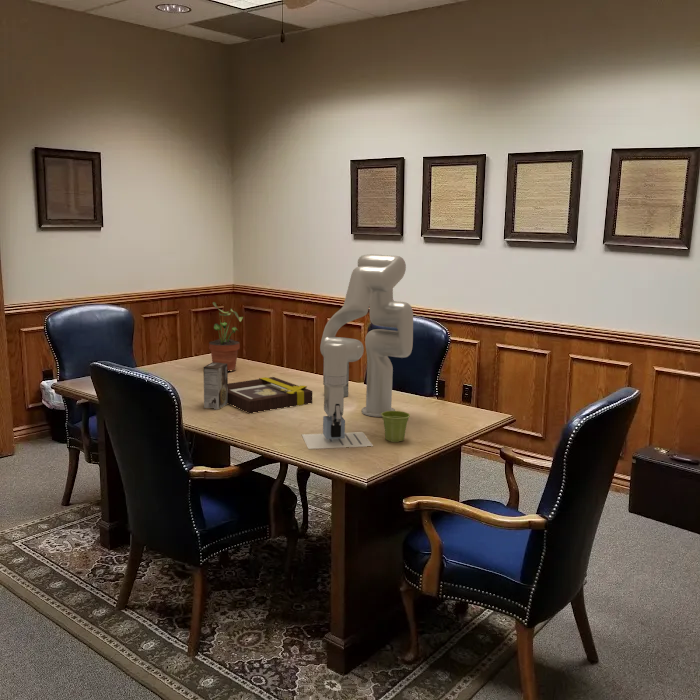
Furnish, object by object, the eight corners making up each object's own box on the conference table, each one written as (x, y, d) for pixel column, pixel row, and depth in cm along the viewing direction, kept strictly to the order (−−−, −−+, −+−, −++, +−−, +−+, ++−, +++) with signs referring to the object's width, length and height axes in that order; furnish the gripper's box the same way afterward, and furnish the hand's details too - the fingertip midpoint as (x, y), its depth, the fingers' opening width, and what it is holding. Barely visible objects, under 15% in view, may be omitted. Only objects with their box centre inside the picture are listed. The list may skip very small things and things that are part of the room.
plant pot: (381, 434, 243) (382, 409, 241) (409, 436, 242) (410, 411, 240) (379, 443, 234) (380, 417, 232) (408, 444, 233) (409, 418, 231)
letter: (301, 435, 240) (301, 434, 240) (362, 432, 244) (362, 431, 244) (308, 449, 226) (308, 448, 226) (373, 446, 230) (373, 445, 230)
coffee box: (212, 402, 278) (212, 361, 275) (228, 403, 277) (228, 362, 274) (203, 408, 269) (202, 366, 267) (219, 409, 268) (218, 367, 265)
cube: (323, 433, 237) (323, 416, 236) (340, 432, 238) (341, 415, 237) (326, 439, 231) (326, 421, 230) (344, 438, 232) (345, 420, 231)
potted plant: (226, 375, 325) (226, 298, 318) (202, 371, 333) (201, 295, 326) (249, 370, 338) (249, 295, 331) (225, 365, 346) (225, 293, 339)
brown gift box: (273, 374, 302) (314, 388, 279) (273, 389, 303) (314, 404, 280) (213, 382, 285) (251, 398, 262) (213, 398, 286) (251, 416, 263)
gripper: (319, 374, 239) (318, 426, 242) (328, 386, 222) (327, 442, 225) (341, 373, 240) (340, 425, 244) (352, 385, 224) (350, 441, 227)
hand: (333, 433), depth 234 cm, fingers closed on cube, 5 cm apart
